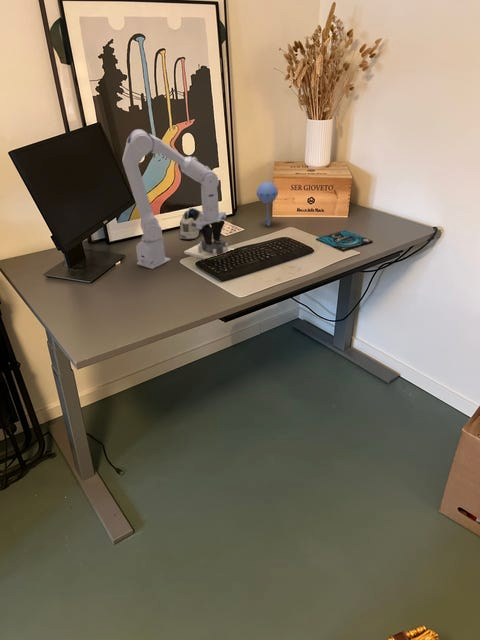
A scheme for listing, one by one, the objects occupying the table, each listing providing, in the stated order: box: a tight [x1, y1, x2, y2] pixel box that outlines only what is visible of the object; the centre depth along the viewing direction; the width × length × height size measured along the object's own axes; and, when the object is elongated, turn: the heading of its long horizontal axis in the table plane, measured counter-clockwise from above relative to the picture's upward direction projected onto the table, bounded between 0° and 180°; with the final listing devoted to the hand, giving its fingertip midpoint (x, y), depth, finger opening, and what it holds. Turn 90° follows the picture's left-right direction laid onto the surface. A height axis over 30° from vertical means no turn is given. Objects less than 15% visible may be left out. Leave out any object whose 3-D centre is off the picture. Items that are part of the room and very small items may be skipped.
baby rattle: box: [256, 181, 279, 227], centre depth 198 cm, size 9×9×18 cm
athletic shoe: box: [179, 207, 211, 241], centre depth 197 cm, size 10×23×12 cm, turn 173°
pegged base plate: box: [183, 240, 235, 259], centre depth 178 cm, size 12×16×4 cm
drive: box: [200, 237, 226, 255], centre depth 176 cm, size 8×4×4 cm, turn 53°
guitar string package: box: [315, 229, 374, 253], centre depth 184 cm, size 15×1×15 cm
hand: (212, 242), depth 176 cm, fingers closed on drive, 4 cm apart
